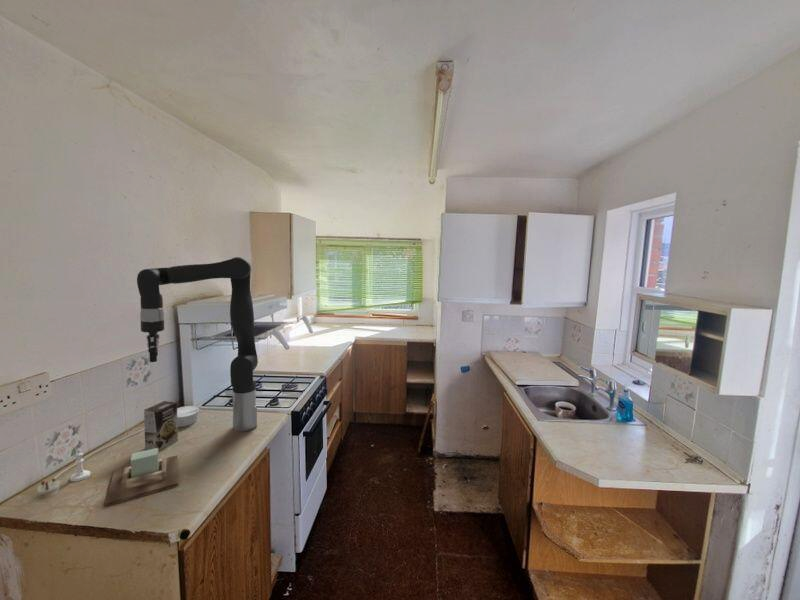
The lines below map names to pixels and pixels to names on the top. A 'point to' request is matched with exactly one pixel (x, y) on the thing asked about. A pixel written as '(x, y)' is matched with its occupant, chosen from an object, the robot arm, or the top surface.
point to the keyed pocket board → (142, 481)
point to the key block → (144, 462)
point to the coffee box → (160, 425)
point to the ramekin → (187, 415)
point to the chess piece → (79, 468)
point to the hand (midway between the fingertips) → (153, 358)
